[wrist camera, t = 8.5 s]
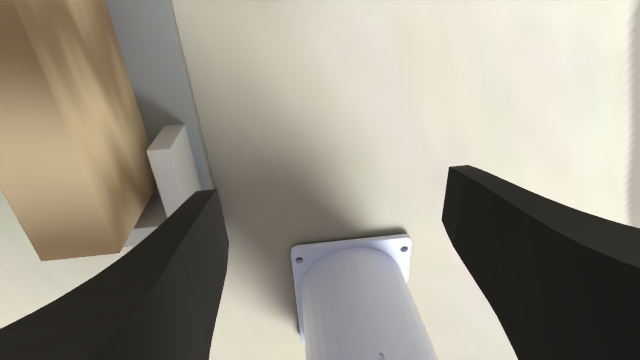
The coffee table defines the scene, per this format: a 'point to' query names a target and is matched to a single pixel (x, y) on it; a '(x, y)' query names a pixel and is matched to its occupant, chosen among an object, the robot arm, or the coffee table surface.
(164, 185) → the end cap cradle
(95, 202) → the oak slat
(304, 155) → the coffee table surface
